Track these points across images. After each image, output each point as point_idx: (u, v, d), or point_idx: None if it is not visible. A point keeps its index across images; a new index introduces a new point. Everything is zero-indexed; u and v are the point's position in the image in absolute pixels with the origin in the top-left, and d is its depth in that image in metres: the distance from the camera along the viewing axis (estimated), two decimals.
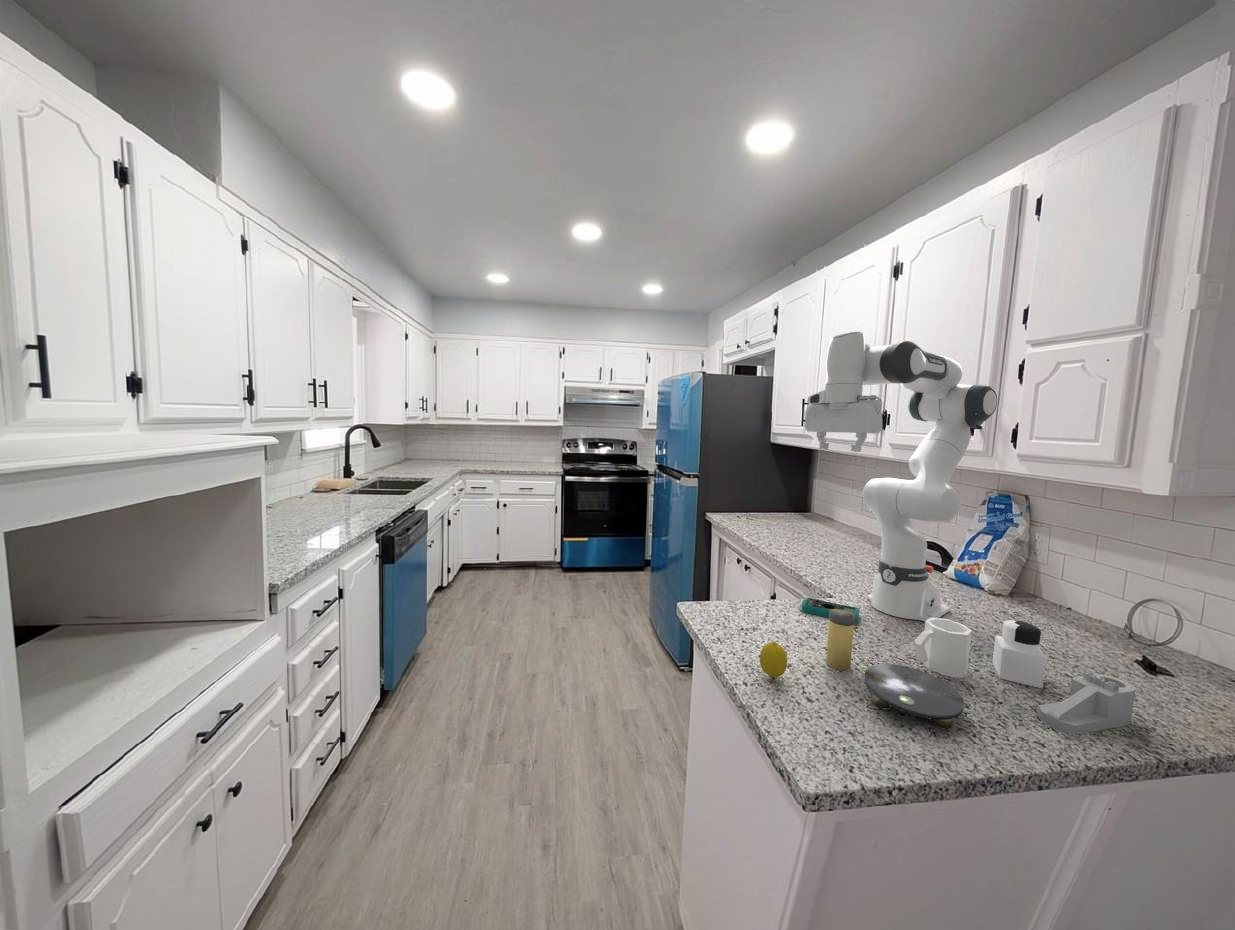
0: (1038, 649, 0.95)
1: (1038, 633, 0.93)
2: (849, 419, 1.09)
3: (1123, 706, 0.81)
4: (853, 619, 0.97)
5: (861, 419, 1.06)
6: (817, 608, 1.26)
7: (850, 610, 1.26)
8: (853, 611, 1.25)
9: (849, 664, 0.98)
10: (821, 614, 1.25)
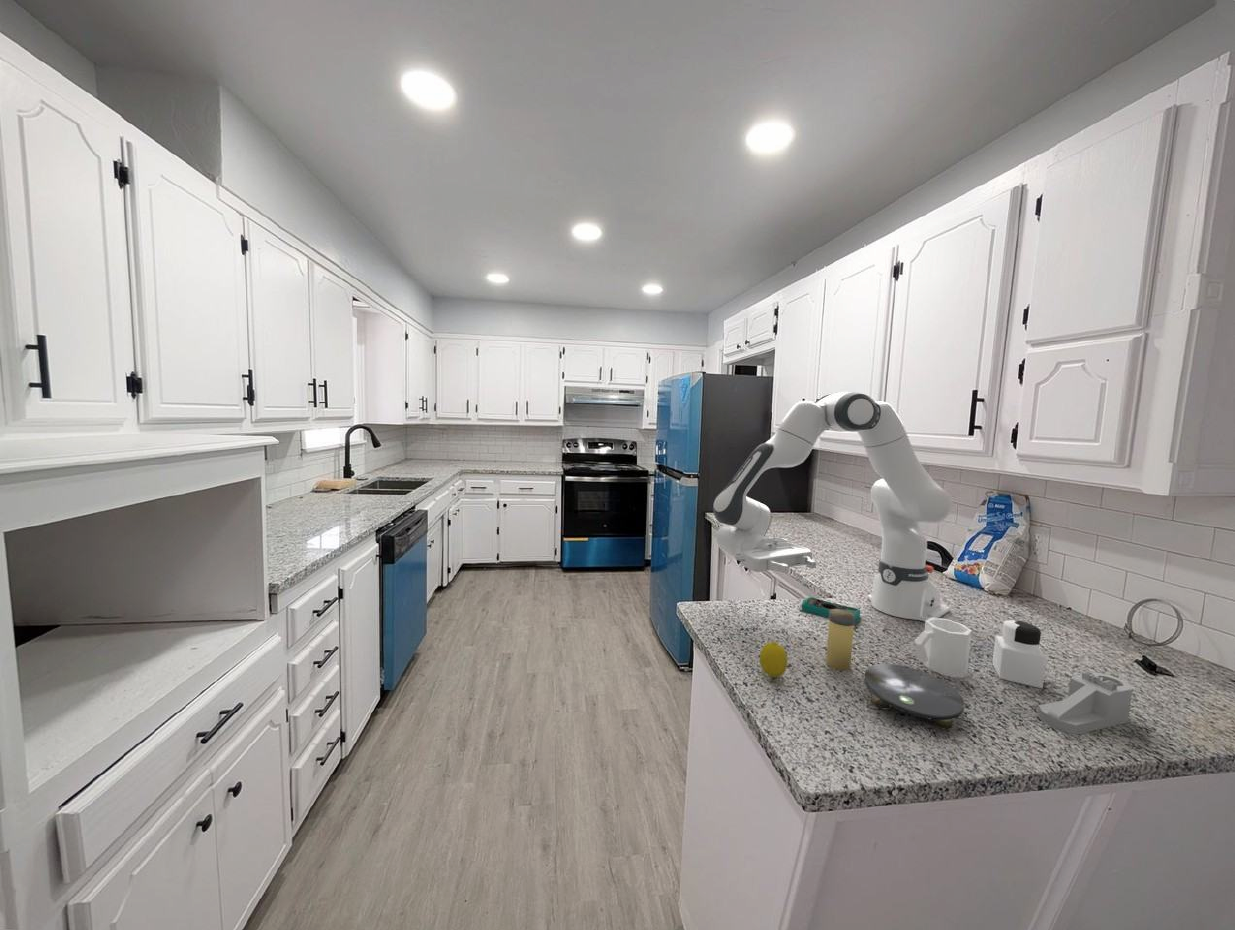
0: (1038, 649, 0.95)
1: (1038, 633, 0.93)
2: None
3: (1121, 705, 0.81)
4: (853, 619, 0.97)
5: None
6: (816, 607, 1.27)
7: (851, 611, 1.25)
8: (853, 612, 1.24)
9: (849, 664, 0.98)
10: (820, 613, 1.26)
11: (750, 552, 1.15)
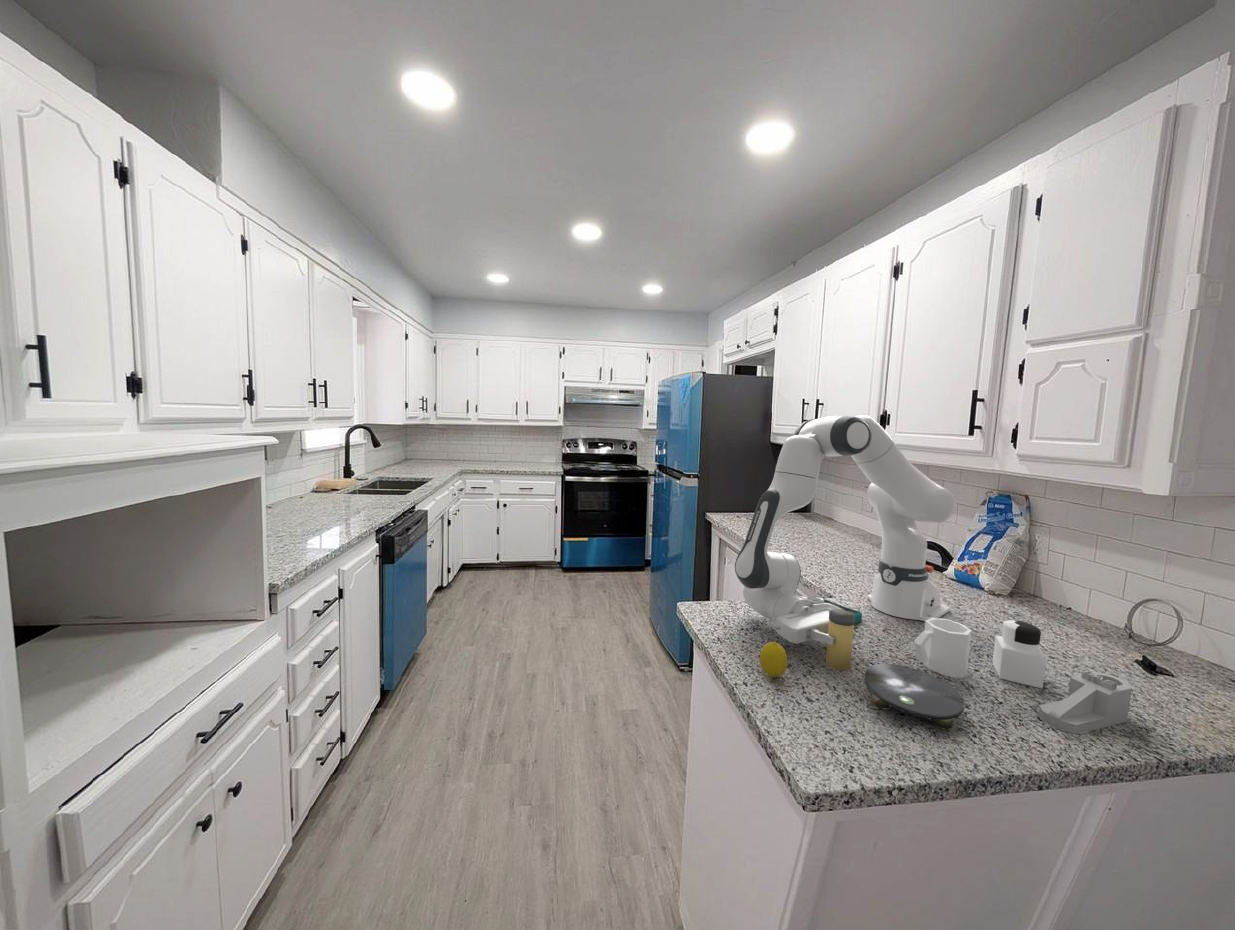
0: (1038, 649, 0.95)
1: (1037, 633, 0.93)
2: None
3: (1121, 704, 0.82)
4: (853, 619, 0.97)
5: None
6: None
7: None
8: None
9: (849, 664, 0.98)
10: None
11: (786, 619, 1.04)
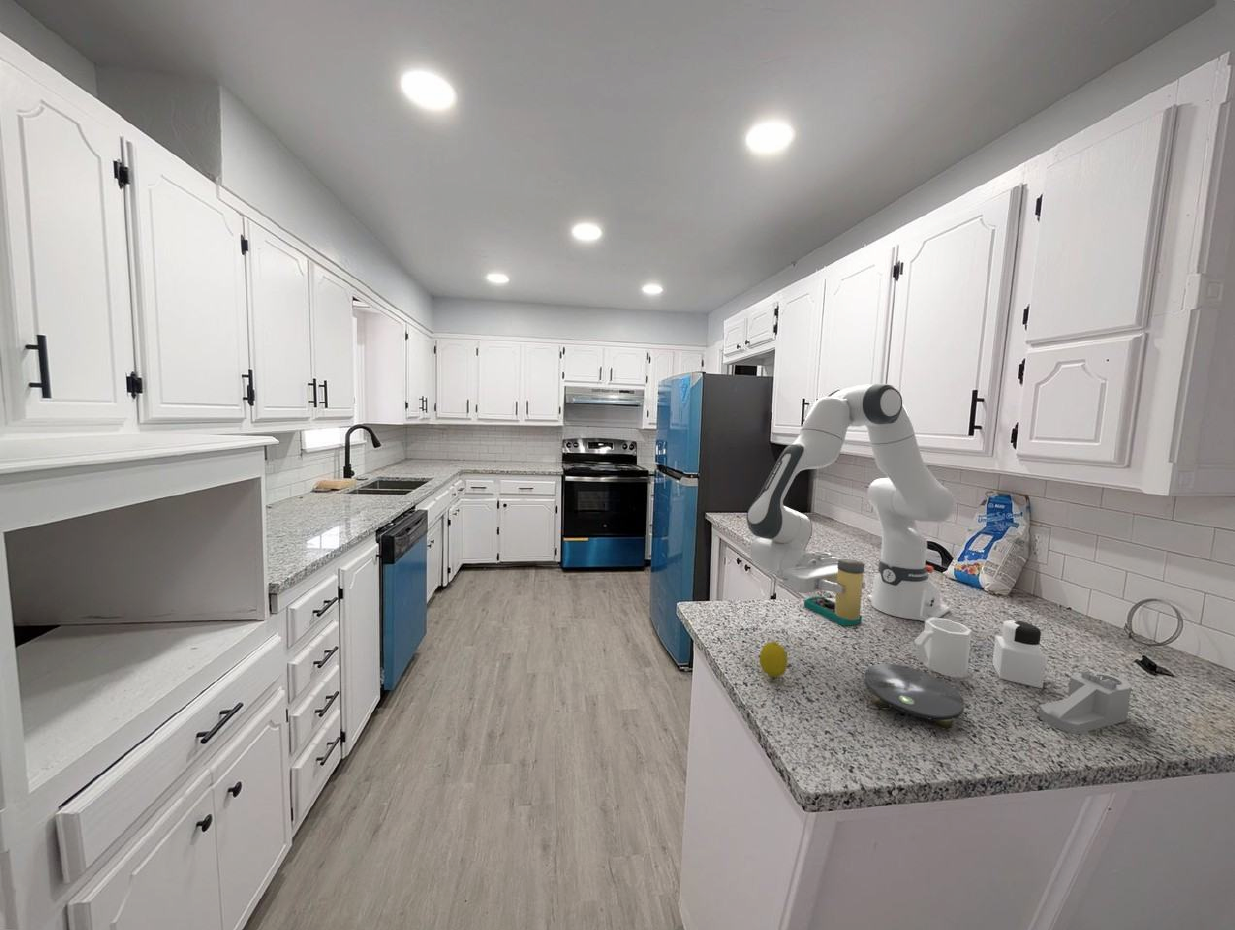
0: (1038, 649, 0.95)
1: (1038, 633, 0.93)
2: None
3: (1121, 703, 0.82)
4: (862, 567, 0.95)
5: None
6: (815, 604, 1.29)
7: None
8: None
9: (858, 613, 0.96)
10: (817, 611, 1.28)
11: (793, 570, 1.02)
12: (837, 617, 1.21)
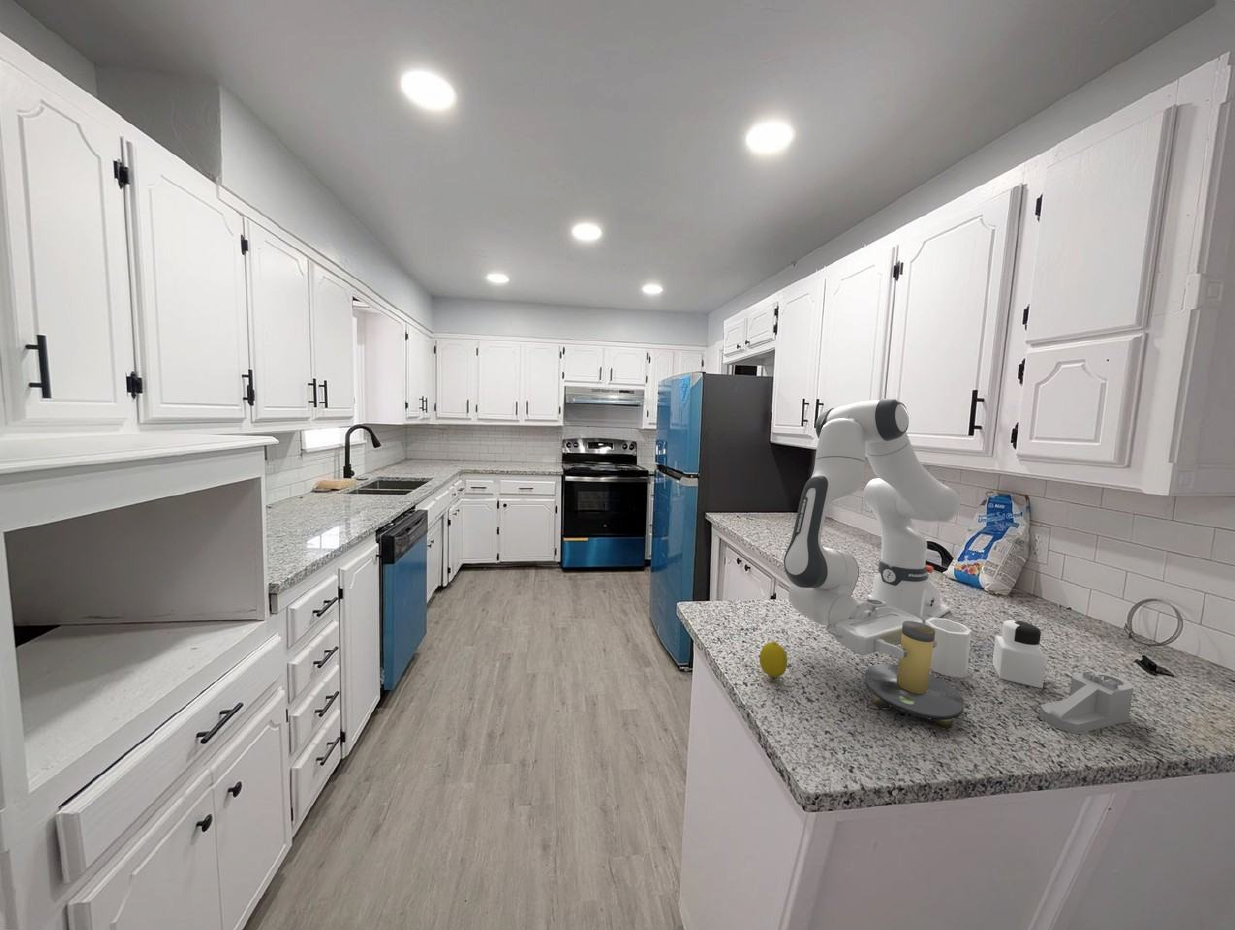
0: (1038, 649, 0.95)
1: (1037, 633, 0.93)
2: None
3: (1122, 704, 0.82)
4: (934, 634, 0.82)
5: None
6: None
7: None
8: None
9: (926, 686, 0.83)
10: None
11: (848, 625, 0.89)
12: None
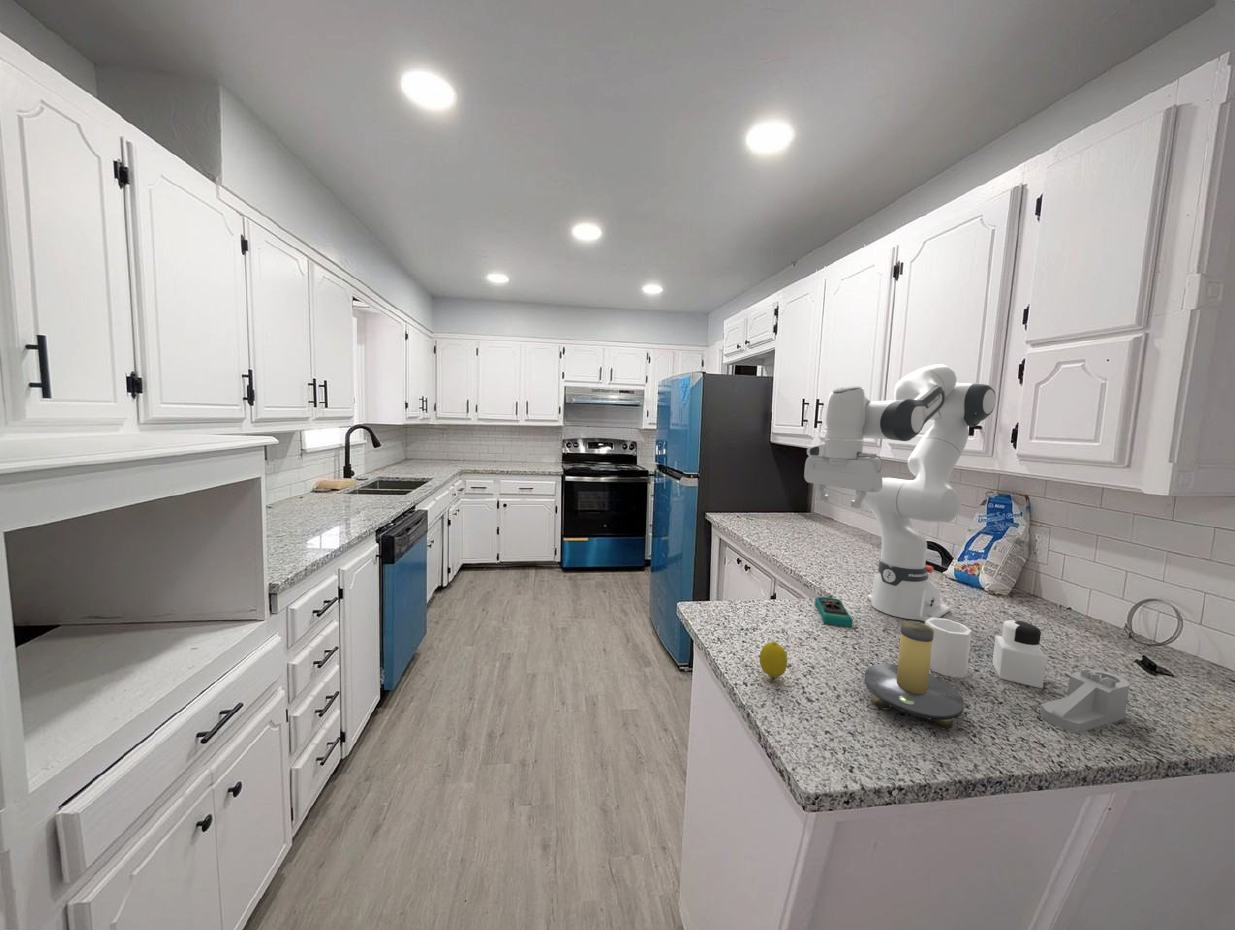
0: (1038, 649, 0.95)
1: (1038, 633, 0.93)
2: (849, 475, 1.08)
3: (1119, 701, 0.82)
4: (932, 634, 0.82)
5: (861, 477, 1.05)
6: (818, 602, 1.30)
7: (842, 616, 1.21)
8: None
9: (926, 686, 0.83)
10: (818, 608, 1.29)
11: None
12: (823, 614, 1.23)
